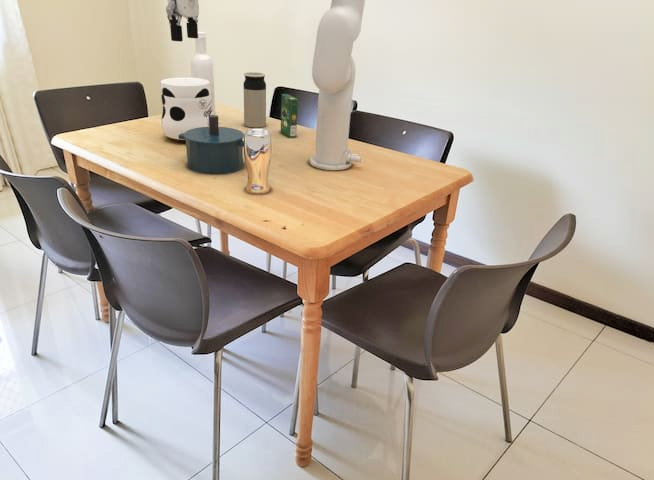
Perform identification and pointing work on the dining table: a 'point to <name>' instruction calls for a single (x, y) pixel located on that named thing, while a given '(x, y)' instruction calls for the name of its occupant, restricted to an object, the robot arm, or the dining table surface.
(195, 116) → the milk container
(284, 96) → the coffee box
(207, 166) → the pot
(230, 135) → the lid
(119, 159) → the dining table surface
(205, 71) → the bottle
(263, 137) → the beer glass
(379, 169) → the dining table surface
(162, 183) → the dining table surface
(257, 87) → the travel mug
